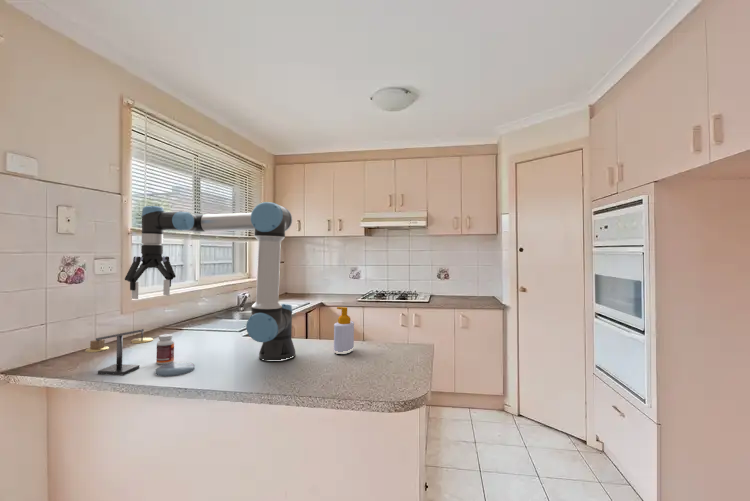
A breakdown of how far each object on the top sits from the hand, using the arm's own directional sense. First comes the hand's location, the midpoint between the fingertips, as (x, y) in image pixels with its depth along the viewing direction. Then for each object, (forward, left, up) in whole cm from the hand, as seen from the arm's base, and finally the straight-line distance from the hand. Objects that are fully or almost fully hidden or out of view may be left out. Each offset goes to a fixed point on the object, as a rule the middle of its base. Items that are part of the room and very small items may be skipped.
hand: (151, 297), depth 150 cm
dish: (-16, +9, -26) cm, 32 cm away
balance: (+4, +12, -26) cm, 29 cm away
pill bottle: (-6, 0, -27) cm, 27 cm away
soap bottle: (-75, -25, -27) cm, 84 cm away
